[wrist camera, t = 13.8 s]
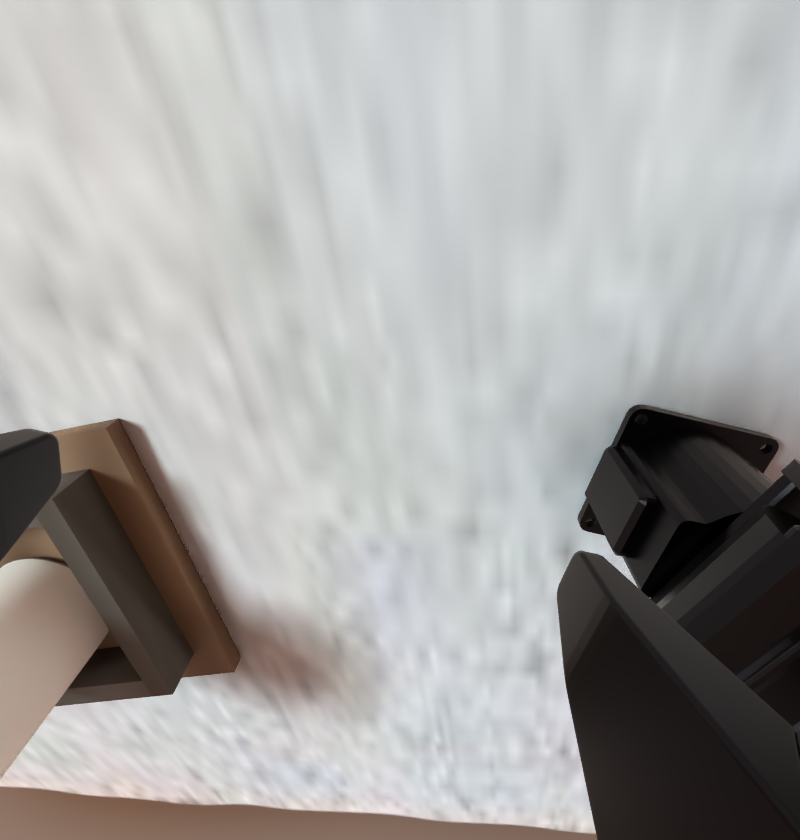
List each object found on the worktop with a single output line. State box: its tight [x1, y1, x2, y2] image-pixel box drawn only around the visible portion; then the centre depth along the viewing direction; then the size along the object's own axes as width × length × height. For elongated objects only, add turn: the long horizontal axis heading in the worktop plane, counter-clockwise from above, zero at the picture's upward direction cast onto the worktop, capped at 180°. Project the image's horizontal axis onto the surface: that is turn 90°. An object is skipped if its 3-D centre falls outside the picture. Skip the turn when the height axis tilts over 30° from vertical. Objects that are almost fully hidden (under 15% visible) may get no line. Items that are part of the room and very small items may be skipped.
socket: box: [0, 419, 240, 706], centre depth 26 cm, size 16×16×4 cm
